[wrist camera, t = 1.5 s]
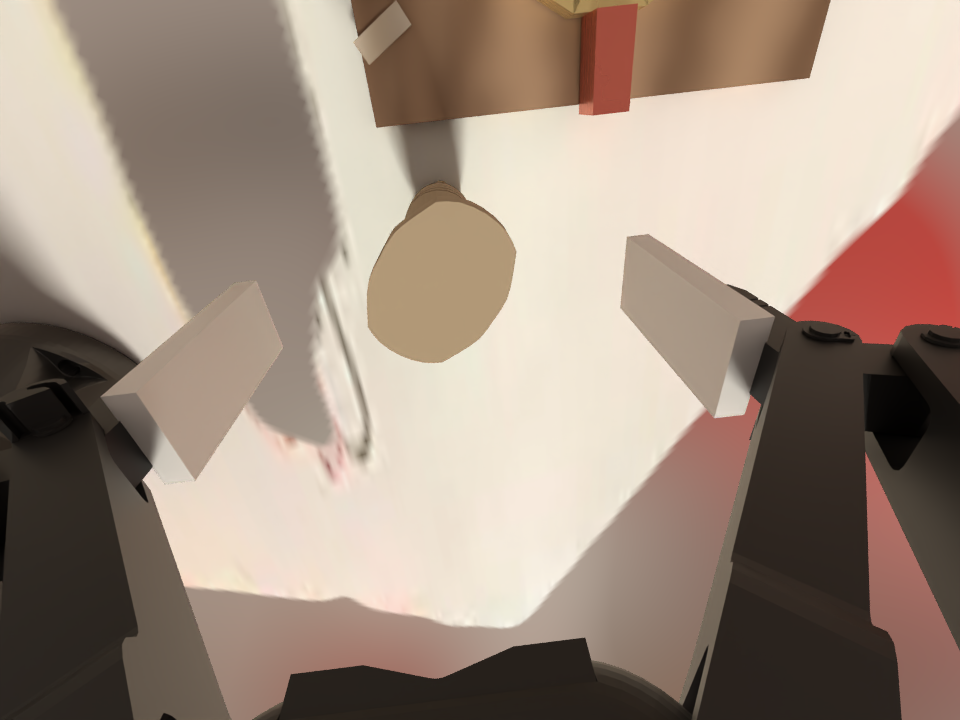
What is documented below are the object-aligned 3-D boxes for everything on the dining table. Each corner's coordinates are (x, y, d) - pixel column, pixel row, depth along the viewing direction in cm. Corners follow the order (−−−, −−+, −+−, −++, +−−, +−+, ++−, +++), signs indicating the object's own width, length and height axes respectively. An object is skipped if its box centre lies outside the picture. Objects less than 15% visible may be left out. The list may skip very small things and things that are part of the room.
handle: (386, 228, 29) (342, 328, 16) (431, 138, 26) (422, 173, 13) (447, 263, 30) (452, 379, 17) (495, 182, 28) (542, 250, 15)
